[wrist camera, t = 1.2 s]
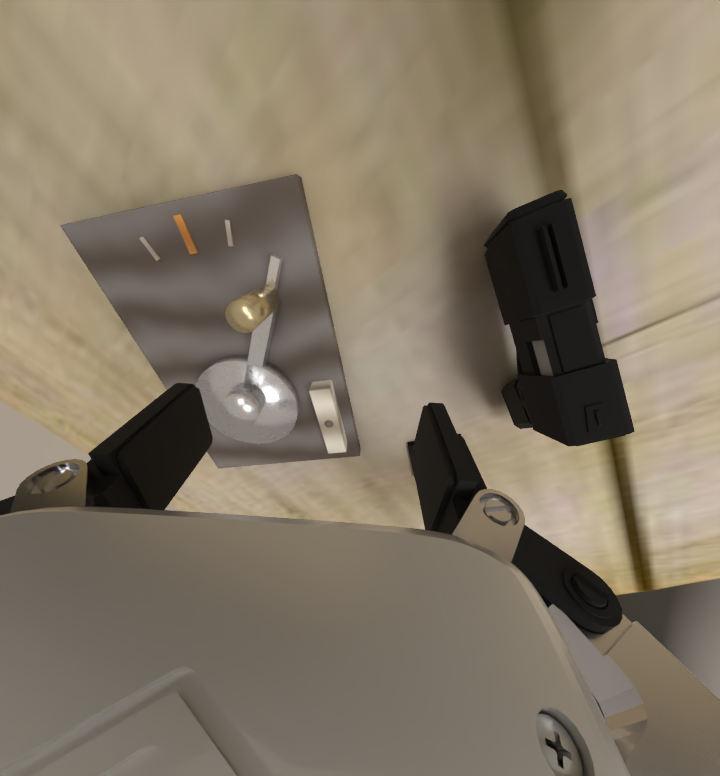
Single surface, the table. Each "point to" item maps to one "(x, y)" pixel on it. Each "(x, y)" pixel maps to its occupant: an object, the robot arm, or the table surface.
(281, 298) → the level board
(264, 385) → the crank handle
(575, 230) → the toy
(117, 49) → the table surface
